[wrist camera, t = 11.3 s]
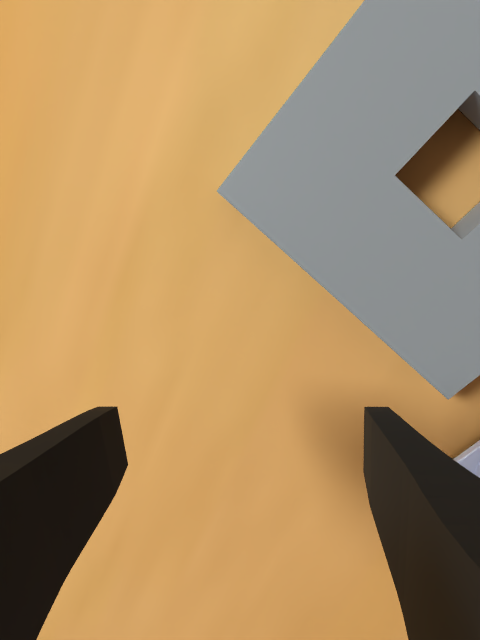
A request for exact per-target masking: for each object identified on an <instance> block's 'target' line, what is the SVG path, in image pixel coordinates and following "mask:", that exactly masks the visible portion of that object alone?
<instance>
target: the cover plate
mask: <svg viewBox="0 0 480 640" xmlns="http://www.w3.org/2000/svg"><path fill="white" fill-rule="evenodd" d="M457 109H459V110H460V111H461V112H462V113H463V114H464V115H465V116H466V117H467V118H468V119H469V120H470V121H471V122H472V123H473V124H474V125H475V126H476V127H477V128H478V129H479V130H480V0H365V1H364V2H363V3H362V5H361V6H360V7H359V8H358V10H357V11H356V12H355V14H354V15H353V16H352V17H351V19H350V20H349V21H348V23H347V24H346V25H345V26H344V28H343V29H342V30H341V32H340V33H339V34H338V35H337V37H336V38H335V39H334V41H333V42H332V43H331V44H330V46H329V47H328V48H327V50H326V51H325V52H324V53H323V55H322V56H321V57H320V59H319V60H318V61H317V62H316V64H315V65H314V66H313V68H312V69H311V70H310V71H309V73H308V74H307V75H306V77H305V78H304V79H303V80H302V82H301V83H300V84H299V86H298V87H297V88H296V90H295V91H294V92H293V93H292V95H291V96H290V97H289V99H288V100H287V101H286V102H285V104H284V105H283V106H282V108H281V109H280V110H279V111H278V113H277V114H276V115H275V117H274V118H273V119H272V120H271V122H270V123H269V124H268V126H267V127H266V128H265V129H264V131H263V132H262V133H261V135H260V136H259V137H258V138H257V140H256V141H255V142H254V144H253V145H252V146H251V147H250V149H249V150H248V151H247V153H246V154H245V155H244V156H243V158H242V159H241V160H240V162H239V163H238V164H237V165H236V167H235V168H234V169H233V171H232V172H231V173H230V175H229V176H228V177H227V178H226V180H225V181H224V182H223V184H222V185H221V186H220V187H219V189H218V190H217V192H218V193H219V194H220V195H221V196H223V197H224V198H225V199H226V200H227V201H228V202H229V203H230V204H231V205H233V206H234V207H235V208H236V209H237V210H238V211H239V212H240V213H241V214H243V215H244V216H245V217H246V218H247V219H248V220H249V221H250V222H251V223H253V224H254V225H255V226H256V227H257V228H258V229H259V230H260V231H261V232H263V233H264V234H265V235H266V236H267V237H268V238H269V239H270V240H271V241H273V242H274V243H275V244H276V245H277V246H278V247H279V248H280V249H281V250H283V251H284V252H285V253H286V254H287V255H288V256H289V257H290V258H291V259H293V260H294V261H295V262H296V263H297V264H298V265H299V266H300V267H301V268H303V269H304V270H305V271H306V272H307V273H308V274H309V275H310V276H311V277H313V278H314V279H315V280H316V281H317V282H318V283H319V284H320V285H321V286H323V287H324V288H325V289H326V290H327V291H328V292H329V293H330V294H331V295H333V296H334V297H335V298H336V299H337V300H338V301H339V302H340V303H341V304H343V305H344V306H345V307H346V308H347V309H348V310H349V311H350V312H351V313H353V314H354V315H355V316H356V317H357V318H358V319H359V320H360V321H361V322H363V323H364V324H365V325H366V326H367V327H368V328H369V329H370V330H371V331H372V332H374V333H375V334H376V335H377V336H378V337H379V338H380V339H381V340H382V341H384V342H385V343H386V344H387V345H388V346H389V347H390V348H391V349H392V350H394V351H395V352H396V353H397V354H398V355H399V356H400V357H401V358H402V359H404V360H405V361H406V362H407V363H408V364H409V365H410V366H411V367H412V368H414V369H415V370H416V371H417V372H418V373H419V374H420V375H421V376H422V377H424V378H425V379H426V380H427V381H428V382H429V383H430V384H431V385H432V386H434V387H435V388H436V389H437V390H438V391H439V392H440V393H441V394H442V395H444V396H445V397H446V398H447V399H450V398H451V397H452V396H454V395H455V394H456V393H457V392H459V391H460V390H461V389H463V388H464V387H465V386H466V385H468V384H469V383H470V382H471V381H473V380H474V379H475V378H477V377H478V376H479V375H480V202H479V203H478V204H477V205H476V206H475V207H474V208H473V209H471V210H470V211H469V212H468V213H467V214H466V215H465V216H464V217H463V218H462V219H461V220H460V221H459V222H458V223H457V224H456V225H455V226H454V227H453V228H451V229H450V228H449V227H448V226H447V225H446V224H445V223H444V222H443V221H442V220H441V219H440V218H439V217H438V216H437V215H436V214H435V213H433V212H432V211H431V210H430V209H429V208H428V207H427V206H426V205H425V204H424V203H423V202H422V201H421V200H420V199H419V198H418V197H417V196H416V195H415V194H414V193H413V192H412V191H411V190H409V189H408V188H407V187H406V186H405V185H404V184H403V183H402V182H401V181H400V180H399V179H398V178H397V177H396V176H395V175H396V174H397V173H398V171H399V170H400V169H401V168H402V167H403V166H404V165H405V164H406V163H407V162H408V161H409V160H410V159H411V158H412V157H413V156H414V154H415V153H416V152H417V151H418V150H419V149H420V148H421V147H422V146H423V145H424V144H425V143H426V142H427V141H428V140H429V138H430V137H431V136H432V135H433V134H434V133H435V132H436V131H437V130H438V129H439V128H440V127H441V126H442V125H443V124H444V123H445V121H446V120H447V119H448V118H449V117H450V116H451V115H452V114H453V113H454V112H455V111H456V110H457Z"/></svg>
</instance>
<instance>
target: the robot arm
mask: <svg viewBox="0 0 480 640" xmlns="http://www.w3.org/2000/svg"><path fill="white" fill-rule="evenodd" d="M127 466H128V462H127V456H126V451H125V446H124V440H123V435H122V430H121V425H120V419H119V414H118V409H117V407H96V408H94V409H91V410H89V411H86V412H84V413H82V414H80V415H78V416H76V417H74V418H72V419H70V420H68V421H66V422H64V423H62V424H60V425H58V426H56V427H54V428H52V429H50V430H48V431H47V432H45V433H43V434H41V435H39V436H37V437H35V438H33V439H31V440H29V441H27V442H25V443H23V444H21V445H19V446H16V447H14V448H12V449H10V450H8V451H6V452H4V453H2V454H0V640H36V639H37V637H38V635H39V632H40V630H41V628H42V626H43V624H44V622H45V620H46V618H47V615H48V613H49V611H50V609H51V607H52V605H53V603H54V601H55V599H56V597H57V595H58V593H59V591H60V589H61V587H62V585H63V583H64V581H65V579H66V577H67V576H68V574H69V572H70V570H71V568H72V567H73V565H74V563H75V562H76V560H77V558H78V557H79V555H80V553H81V552H82V550H83V548H84V547H85V545H86V543H87V542H88V540H89V538H90V537H91V535H92V533H93V532H94V530H95V529H96V527H97V525H98V524H99V522H100V520H101V519H102V517H103V515H104V513H105V512H106V510H107V508H108V507H109V505H110V503H111V501H112V500H113V498H114V496H115V494H116V492H117V490H118V487H119V485H120V483H121V481H122V478H123V476H124V473H125V471H126V468H127ZM363 471H364V476H365V482H366V488H367V493H368V498H369V503H370V507H371V511H372V514H373V517H374V520H375V524H376V527H377V530H378V533H379V537H380V540H381V543H382V546H383V549H384V552H385V556H386V559H387V562H388V565H389V568H390V571H391V575H392V578H393V581H394V584H395V587H396V590H397V594H398V598H399V601H400V605H401V609H402V612H403V617H404V621H405V626H406V630H407V635H408V639H409V640H480V440H479V441H478V442H476V443H475V444H474V445H472V446H471V447H469V448H468V449H467V450H465V451H464V452H462V453H461V454H460V455H458V456H457V457H456V458H454V459H452V458H450V457H449V456H448V455H446V454H445V453H444V452H442V451H441V450H440V449H438V448H437V447H436V446H435V445H433V444H432V443H431V442H429V441H428V440H427V439H426V438H424V437H423V436H422V435H421V434H420V433H418V432H417V431H416V430H415V429H414V428H412V427H411V426H410V425H409V424H408V423H407V422H405V421H404V420H403V419H402V418H401V417H400V416H398V415H397V414H396V413H395V412H394V411H392V410H391V409H390V408H389V407H365V411H364V470H363Z"/></svg>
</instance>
